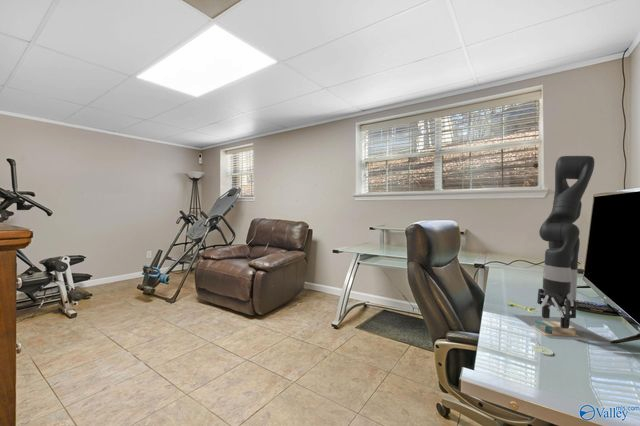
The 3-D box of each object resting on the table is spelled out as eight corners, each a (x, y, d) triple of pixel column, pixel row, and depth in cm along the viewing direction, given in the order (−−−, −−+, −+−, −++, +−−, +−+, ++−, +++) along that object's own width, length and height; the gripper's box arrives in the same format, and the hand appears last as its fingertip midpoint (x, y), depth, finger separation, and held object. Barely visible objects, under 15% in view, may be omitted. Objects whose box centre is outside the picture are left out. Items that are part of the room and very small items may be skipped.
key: (507, 305, 124) (507, 301, 124) (541, 311, 118) (541, 307, 118) (508, 310, 118) (508, 305, 118) (544, 317, 112) (544, 312, 111)
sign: (543, 336, 93) (555, 355, 80) (543, 338, 93) (554, 358, 80) (524, 332, 96) (533, 350, 83) (524, 334, 96) (533, 353, 83)
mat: (512, 315, 111) (512, 314, 111) (563, 318, 109) (563, 317, 109) (549, 339, 91) (549, 337, 91) (612, 343, 90) (612, 341, 89)
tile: (563, 328, 99) (563, 321, 99) (575, 335, 94) (575, 328, 94) (534, 326, 100) (535, 320, 99) (544, 333, 94) (545, 326, 94)
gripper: (585, 284, 89) (583, 332, 89) (552, 273, 103) (550, 315, 103) (561, 283, 89) (559, 331, 90) (531, 272, 104) (529, 314, 104)
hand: (554, 322), depth 97 cm, fingers open, 8 cm apart
